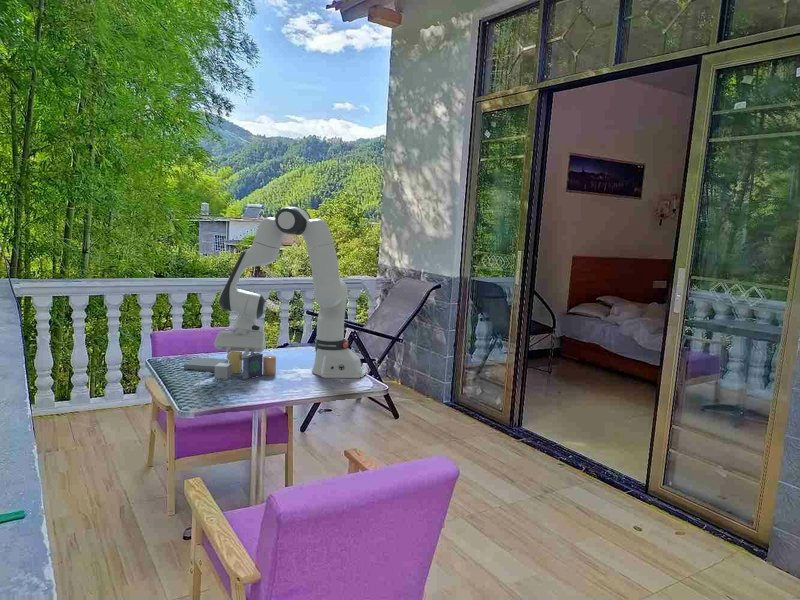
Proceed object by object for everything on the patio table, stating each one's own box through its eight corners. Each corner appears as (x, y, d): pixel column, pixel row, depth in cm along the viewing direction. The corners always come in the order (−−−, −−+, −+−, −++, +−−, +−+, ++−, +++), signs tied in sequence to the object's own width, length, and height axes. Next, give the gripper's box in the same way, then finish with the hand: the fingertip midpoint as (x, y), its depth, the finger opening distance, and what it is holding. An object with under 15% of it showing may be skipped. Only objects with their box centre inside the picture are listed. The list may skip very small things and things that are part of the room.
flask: (245, 380, 214) (245, 353, 212) (240, 378, 215) (240, 352, 214) (263, 375, 221) (264, 349, 220) (258, 374, 223) (259, 348, 222)
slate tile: (228, 363, 236) (228, 359, 236) (217, 371, 224) (217, 366, 224) (196, 361, 237) (196, 357, 236) (183, 369, 225) (183, 364, 224)
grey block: (231, 375, 219) (231, 363, 219) (227, 379, 214) (227, 366, 214) (219, 375, 220) (219, 362, 219) (214, 378, 215) (214, 365, 214)
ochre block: (241, 370, 227) (242, 351, 226) (238, 373, 223) (238, 354, 222) (232, 370, 227) (232, 351, 226) (228, 372, 223) (228, 353, 222)
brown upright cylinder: (277, 372, 226) (277, 355, 225) (273, 375, 221) (273, 358, 220) (265, 371, 227) (265, 355, 226) (261, 375, 222) (261, 358, 221)
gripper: (217, 324, 230) (208, 353, 222) (265, 327, 229) (258, 356, 221) (221, 333, 235) (212, 361, 227) (268, 336, 234) (261, 364, 226)
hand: (235, 358), depth 224 cm, fingers closed on ochre block, 4 cm apart
